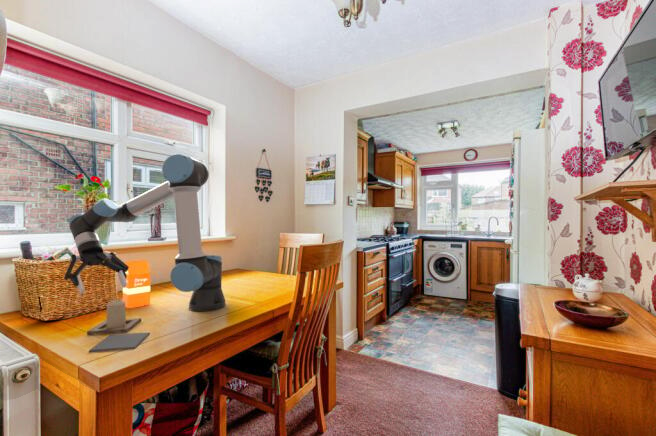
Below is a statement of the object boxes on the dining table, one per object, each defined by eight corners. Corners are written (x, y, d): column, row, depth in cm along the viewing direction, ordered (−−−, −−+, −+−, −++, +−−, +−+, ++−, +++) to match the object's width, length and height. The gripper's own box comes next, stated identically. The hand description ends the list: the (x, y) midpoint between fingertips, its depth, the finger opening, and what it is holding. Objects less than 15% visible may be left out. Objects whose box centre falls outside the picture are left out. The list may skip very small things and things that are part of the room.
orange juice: (150, 304, 138) (150, 260, 138) (128, 308, 132) (128, 262, 132) (144, 301, 143) (144, 259, 144) (122, 305, 137) (122, 260, 137)
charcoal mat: (149, 334, 102) (149, 332, 102) (134, 348, 90) (134, 346, 90) (109, 336, 100) (109, 334, 100) (88, 352, 88) (89, 350, 88)
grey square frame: (141, 321, 115) (141, 318, 115) (127, 332, 104) (127, 329, 104) (105, 323, 113) (105, 319, 113) (87, 335, 101) (87, 331, 101)
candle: (104, 331, 105) (104, 302, 105) (108, 326, 110) (109, 298, 110) (123, 329, 107) (123, 300, 107) (126, 324, 112) (127, 297, 112)
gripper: (121, 249, 133) (137, 288, 124) (45, 255, 112) (58, 302, 104) (126, 238, 130) (143, 277, 121) (50, 241, 109) (64, 288, 101)
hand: (104, 288), depth 112 cm, fingers open, 13 cm apart
